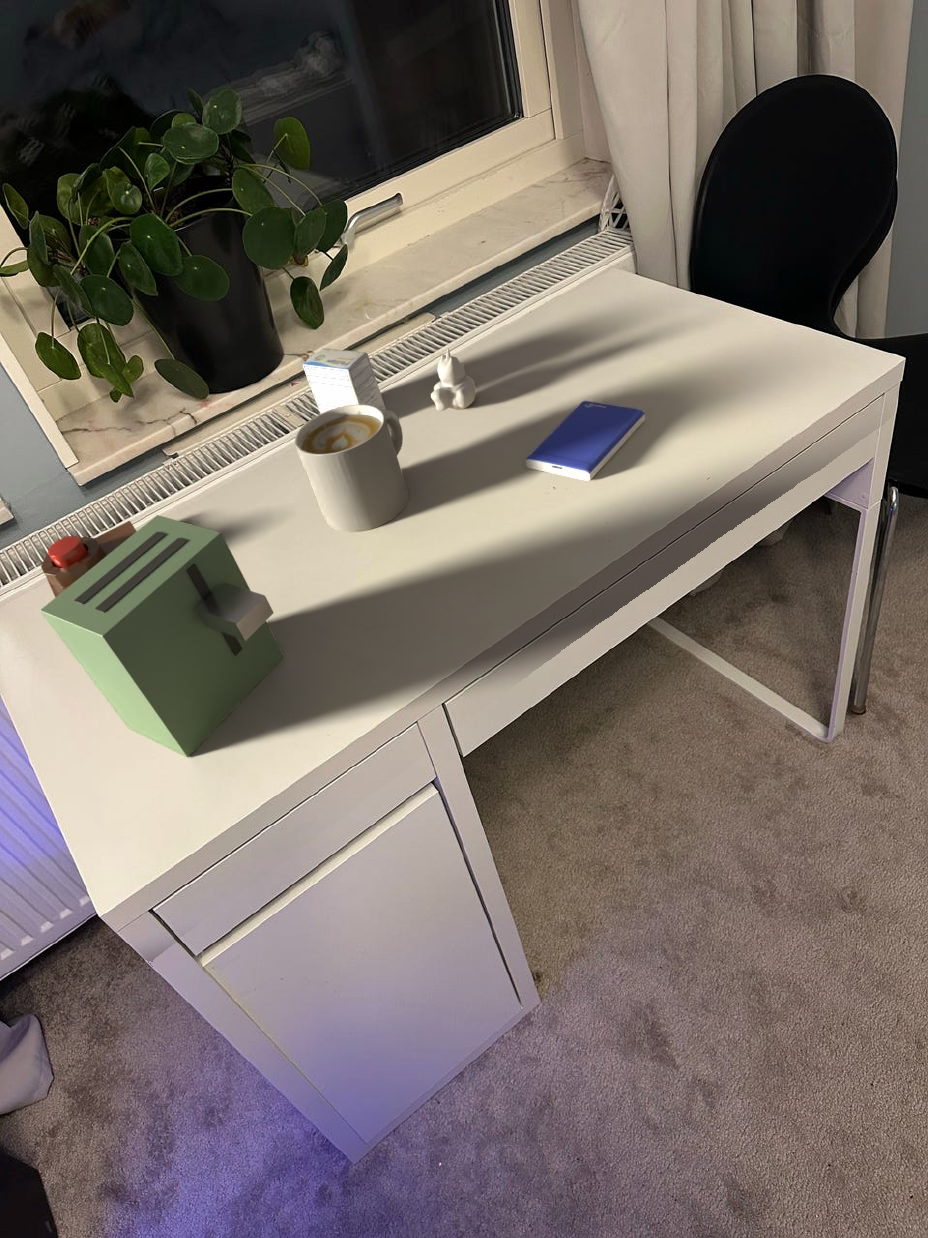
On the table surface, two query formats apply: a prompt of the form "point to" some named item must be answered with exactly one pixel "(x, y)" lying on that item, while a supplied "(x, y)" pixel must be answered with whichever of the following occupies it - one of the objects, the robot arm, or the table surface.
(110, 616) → the toaster
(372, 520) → the coffee mug
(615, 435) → the hard drive
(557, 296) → the table surface
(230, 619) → the toaster lever
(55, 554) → the power button
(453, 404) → the white seated figurine
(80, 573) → the switch block
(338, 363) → the medicine box
